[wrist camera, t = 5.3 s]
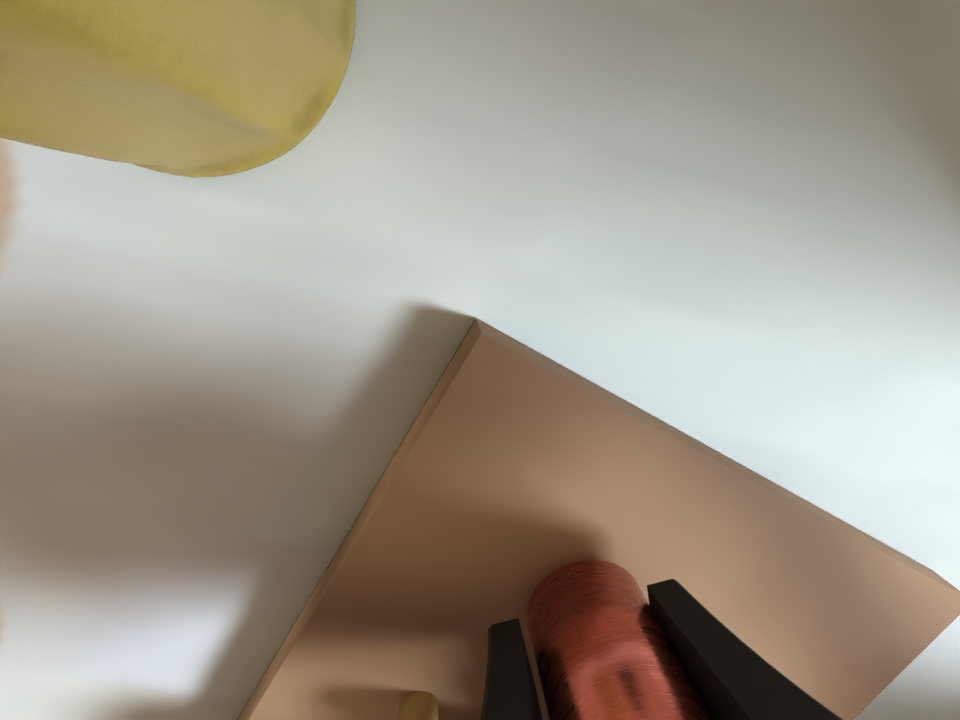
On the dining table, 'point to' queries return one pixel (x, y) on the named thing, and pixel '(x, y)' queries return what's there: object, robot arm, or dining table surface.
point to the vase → (171, 78)
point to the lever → (605, 649)
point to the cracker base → (580, 552)
